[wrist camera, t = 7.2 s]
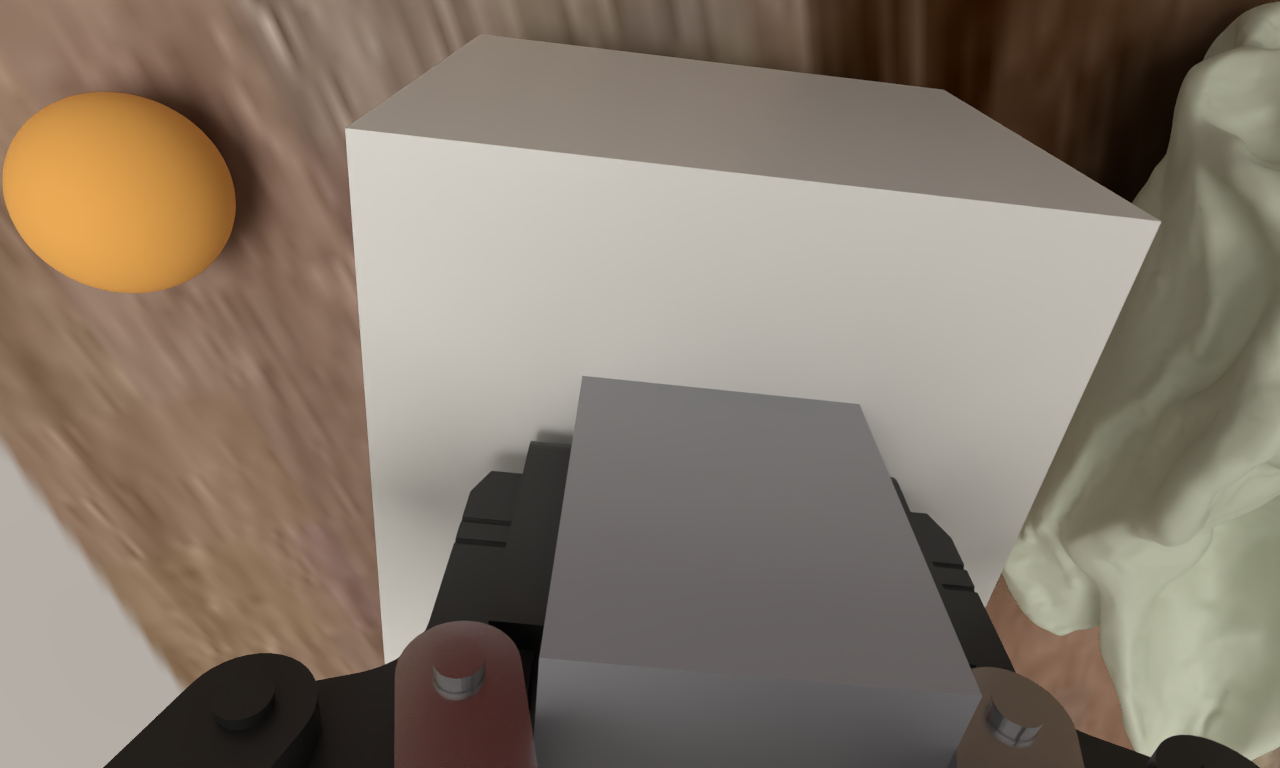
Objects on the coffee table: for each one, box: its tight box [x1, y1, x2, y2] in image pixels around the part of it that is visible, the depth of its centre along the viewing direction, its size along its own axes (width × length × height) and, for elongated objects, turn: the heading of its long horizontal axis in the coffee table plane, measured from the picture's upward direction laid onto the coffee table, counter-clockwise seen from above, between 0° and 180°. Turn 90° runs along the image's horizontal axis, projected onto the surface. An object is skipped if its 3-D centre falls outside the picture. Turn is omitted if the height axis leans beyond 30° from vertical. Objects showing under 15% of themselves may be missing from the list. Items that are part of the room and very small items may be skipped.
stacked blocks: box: [345, 34, 1161, 768], centre depth 14 cm, size 10×10×14 cm
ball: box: [3, 92, 236, 293], centre depth 21 cm, size 5×5×5 cm
